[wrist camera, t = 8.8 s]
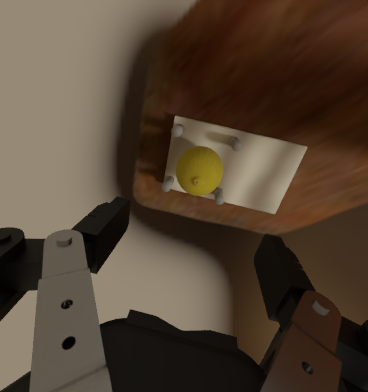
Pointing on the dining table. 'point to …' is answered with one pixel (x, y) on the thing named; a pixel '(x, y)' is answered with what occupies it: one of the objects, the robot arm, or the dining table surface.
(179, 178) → the lemon
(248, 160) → the peg board
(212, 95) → the dining table surface
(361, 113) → the dining table surface
